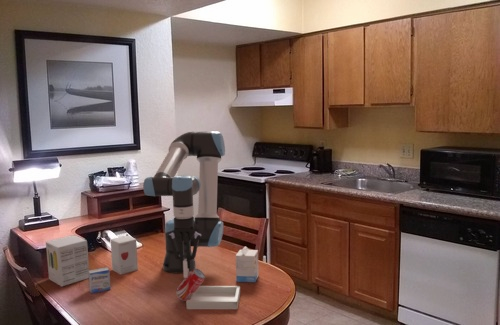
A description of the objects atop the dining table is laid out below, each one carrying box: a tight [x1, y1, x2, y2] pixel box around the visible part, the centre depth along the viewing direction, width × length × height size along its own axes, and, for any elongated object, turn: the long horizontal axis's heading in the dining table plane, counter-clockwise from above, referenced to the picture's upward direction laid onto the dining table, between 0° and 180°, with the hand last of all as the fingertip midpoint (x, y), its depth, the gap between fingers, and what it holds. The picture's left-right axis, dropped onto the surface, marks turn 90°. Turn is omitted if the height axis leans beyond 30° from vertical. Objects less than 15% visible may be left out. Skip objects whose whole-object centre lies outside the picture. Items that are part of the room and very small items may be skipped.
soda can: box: [175, 267, 206, 302], centre depth 168 cm, size 6×6×12 cm
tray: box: [185, 285, 241, 310], centre depth 169 cm, size 14×19×3 cm
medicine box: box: [88, 267, 111, 294], centre depth 181 cm, size 8×4×9 cm, turn 117°
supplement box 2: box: [110, 235, 139, 275], centre depth 202 cm, size 9×9×15 cm
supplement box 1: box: [45, 235, 90, 287], centre depth 194 cm, size 13×13×18 cm
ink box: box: [235, 246, 260, 283], centre depth 189 cm, size 9×8×13 cm
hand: (186, 276), depth 168 cm, fingers closed
